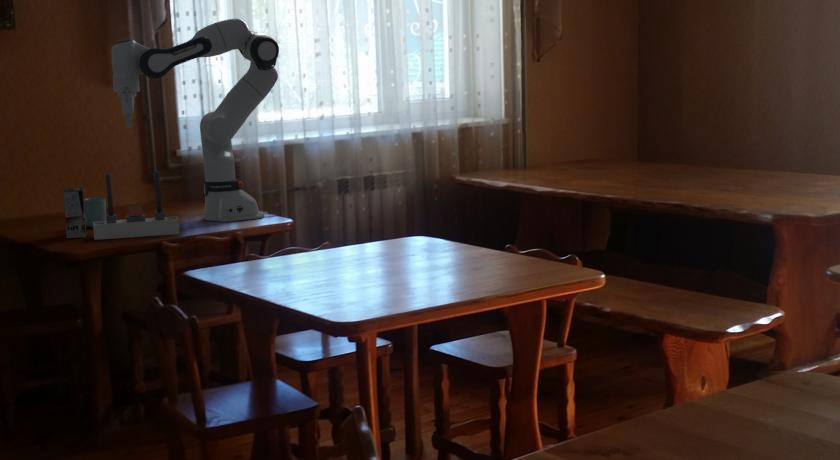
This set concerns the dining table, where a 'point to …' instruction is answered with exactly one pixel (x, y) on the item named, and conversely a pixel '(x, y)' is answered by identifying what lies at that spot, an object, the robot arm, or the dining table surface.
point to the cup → (94, 210)
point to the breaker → (135, 210)
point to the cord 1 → (110, 201)
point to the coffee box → (74, 212)
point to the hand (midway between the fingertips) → (129, 126)
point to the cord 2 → (158, 198)
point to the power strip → (135, 227)
